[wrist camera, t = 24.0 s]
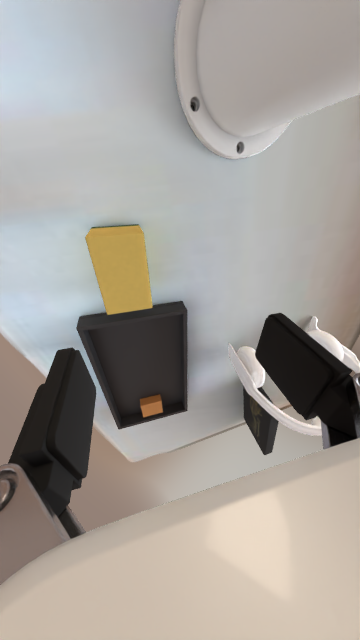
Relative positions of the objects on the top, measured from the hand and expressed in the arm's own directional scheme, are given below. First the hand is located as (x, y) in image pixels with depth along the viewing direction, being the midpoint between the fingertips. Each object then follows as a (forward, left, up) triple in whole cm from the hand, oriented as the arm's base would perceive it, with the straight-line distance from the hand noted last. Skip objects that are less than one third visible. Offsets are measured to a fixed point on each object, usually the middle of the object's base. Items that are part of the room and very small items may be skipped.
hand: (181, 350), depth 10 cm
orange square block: (+29, -2, -17) cm, 34 cm away
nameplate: (+39, +22, -17) cm, 48 cm away
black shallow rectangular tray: (+20, -2, -17) cm, 26 cm away
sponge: (+1, -3, -17) cm, 17 cm away
